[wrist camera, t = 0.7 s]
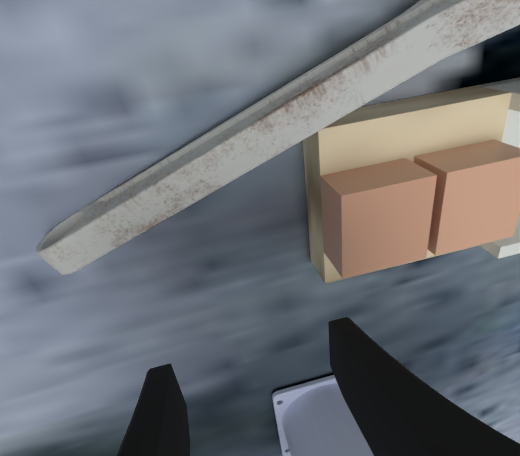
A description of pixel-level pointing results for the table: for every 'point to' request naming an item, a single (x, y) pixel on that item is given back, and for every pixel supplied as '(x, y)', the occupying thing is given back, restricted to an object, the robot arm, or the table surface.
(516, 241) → the tray
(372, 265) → the tile
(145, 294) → the table surface
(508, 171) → the tile
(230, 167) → the wrench
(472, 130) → the board
